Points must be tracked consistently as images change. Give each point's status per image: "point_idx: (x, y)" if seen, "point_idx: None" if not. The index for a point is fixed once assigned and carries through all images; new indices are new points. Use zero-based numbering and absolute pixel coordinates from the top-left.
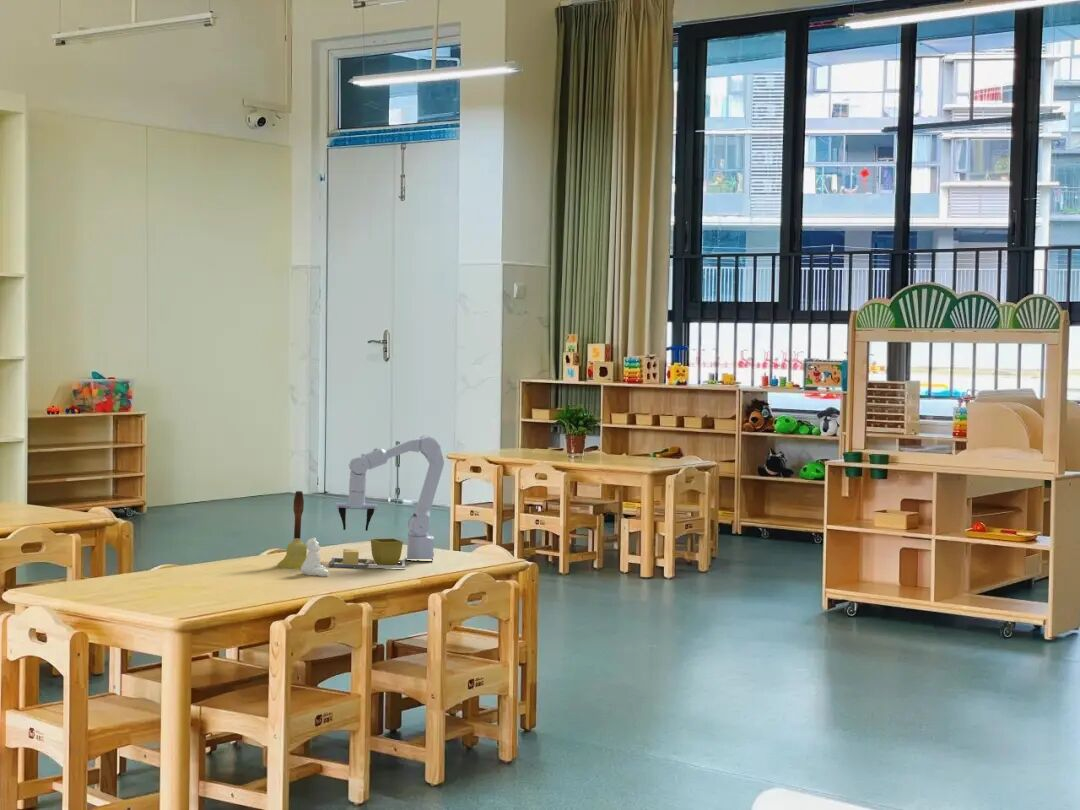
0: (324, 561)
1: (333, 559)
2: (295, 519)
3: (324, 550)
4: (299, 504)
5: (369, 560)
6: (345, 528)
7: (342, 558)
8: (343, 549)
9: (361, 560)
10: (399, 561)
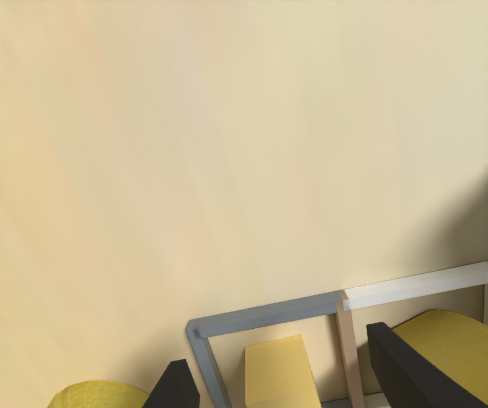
0: (163, 331)
1: (206, 363)
2: None
3: (8, 4)
4: None
5: (352, 331)
6: (191, 387)
7: (232, 329)
8: (246, 405)
9: (312, 313)
10: (484, 280)
